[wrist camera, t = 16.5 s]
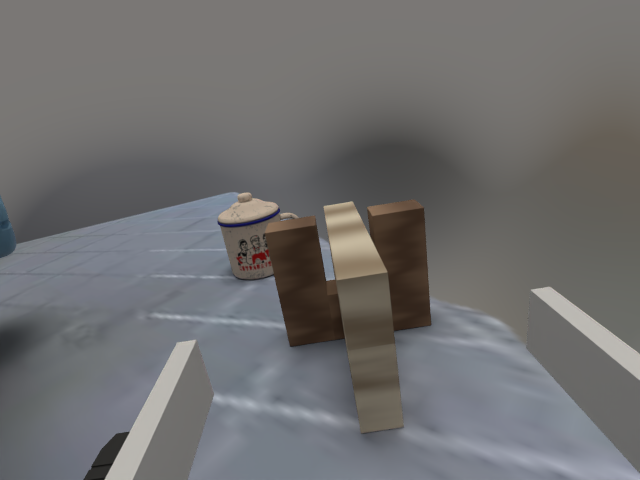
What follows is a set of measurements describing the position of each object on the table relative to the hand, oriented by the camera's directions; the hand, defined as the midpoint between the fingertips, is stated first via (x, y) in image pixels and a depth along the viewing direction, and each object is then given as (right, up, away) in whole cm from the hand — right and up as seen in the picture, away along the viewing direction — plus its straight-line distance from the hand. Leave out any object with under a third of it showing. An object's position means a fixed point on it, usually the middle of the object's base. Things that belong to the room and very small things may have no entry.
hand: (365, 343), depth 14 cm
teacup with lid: (-9, 0, +42) cm, 43 cm away
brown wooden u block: (+2, -5, +23) cm, 23 cm away
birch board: (+2, -6, +19) cm, 20 cm away
